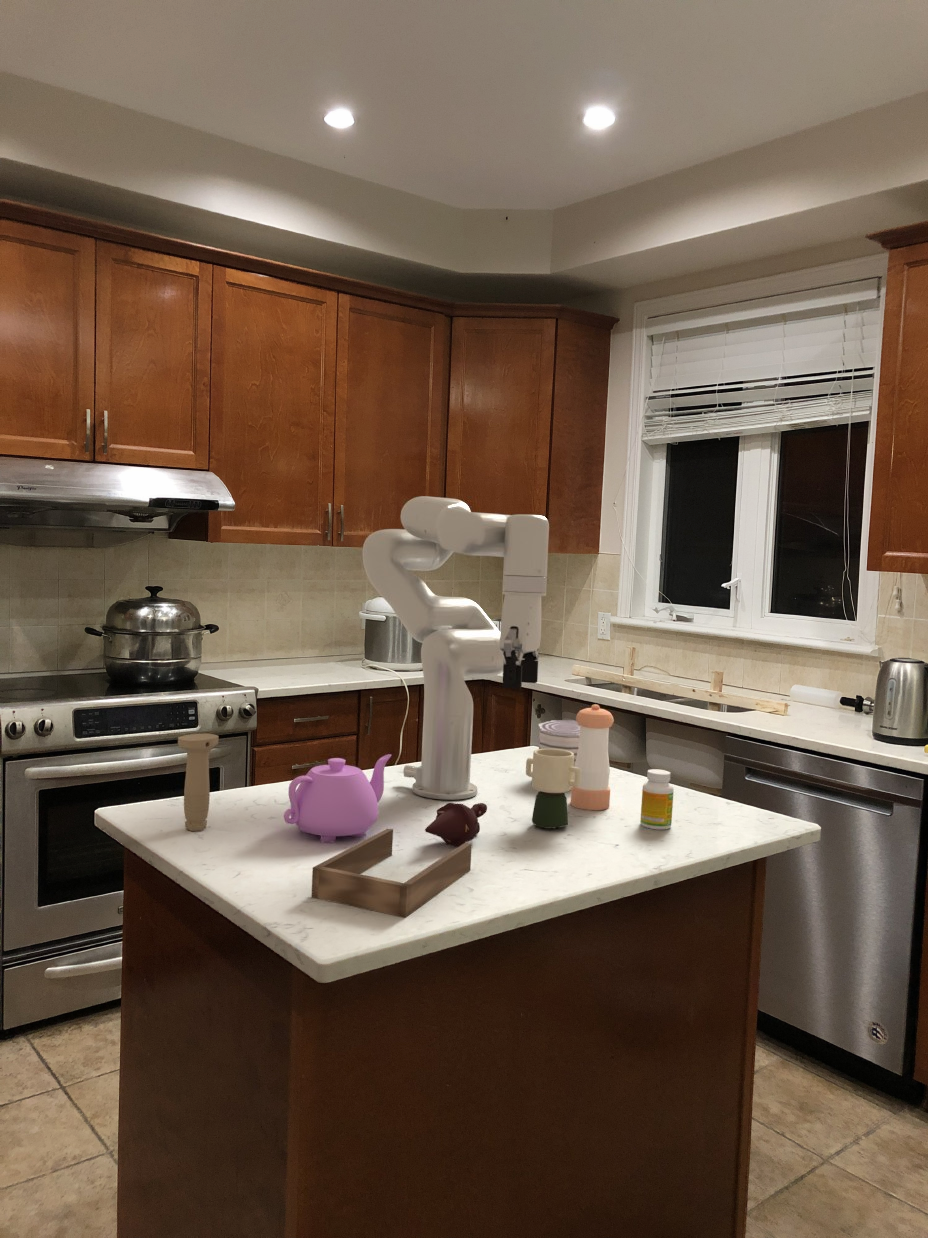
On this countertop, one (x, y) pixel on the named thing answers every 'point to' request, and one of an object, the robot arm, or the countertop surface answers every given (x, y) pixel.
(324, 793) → the teapot
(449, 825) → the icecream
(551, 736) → the can
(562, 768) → the character mug
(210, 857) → the countertop surface
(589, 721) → the salt shaker
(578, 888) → the countertop surface
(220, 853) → the countertop surface
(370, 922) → the countertop surface
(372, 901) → the frame
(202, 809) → the handle
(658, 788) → the supplement bottle
